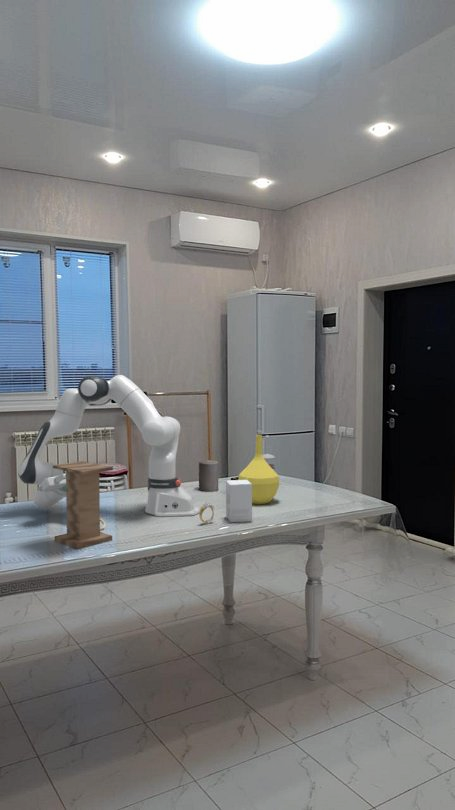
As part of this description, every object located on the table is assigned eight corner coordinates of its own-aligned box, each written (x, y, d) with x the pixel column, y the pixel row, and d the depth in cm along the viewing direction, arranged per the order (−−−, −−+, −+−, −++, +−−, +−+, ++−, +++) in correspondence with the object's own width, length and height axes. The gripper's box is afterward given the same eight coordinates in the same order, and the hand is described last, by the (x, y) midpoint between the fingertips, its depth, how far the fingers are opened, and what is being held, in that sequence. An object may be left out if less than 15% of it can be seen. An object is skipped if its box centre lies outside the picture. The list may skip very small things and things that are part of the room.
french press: (270, 486, 303) (271, 436, 302) (251, 483, 310) (251, 435, 308) (280, 483, 312) (280, 434, 310) (260, 480, 318) (260, 433, 316)
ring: (201, 525, 230) (201, 504, 229) (197, 523, 232) (197, 503, 232) (217, 523, 233) (217, 502, 233) (212, 521, 236) (212, 501, 236)
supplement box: (247, 515, 245) (247, 479, 244) (252, 521, 236) (252, 483, 235) (225, 516, 243) (225, 479, 242) (229, 522, 234) (229, 484, 233)
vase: (277, 507, 259) (277, 438, 257) (234, 505, 263) (235, 437, 260) (280, 498, 277) (281, 433, 275) (241, 496, 281) (241, 432, 278)
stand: (51, 539, 211) (50, 465, 209) (85, 531, 221) (84, 460, 219) (81, 550, 199) (80, 472, 197) (115, 541, 209) (115, 466, 207)
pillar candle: (194, 490, 294) (194, 459, 293) (206, 487, 302) (206, 457, 301) (210, 492, 288) (210, 461, 287) (222, 489, 296) (222, 458, 295)
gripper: (33, 483, 234) (49, 469, 226) (78, 476, 249) (95, 463, 241) (37, 498, 232) (54, 485, 224) (83, 490, 247) (100, 477, 239)
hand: (75, 473), depth 232 cm, fingers open, 8 cm apart
